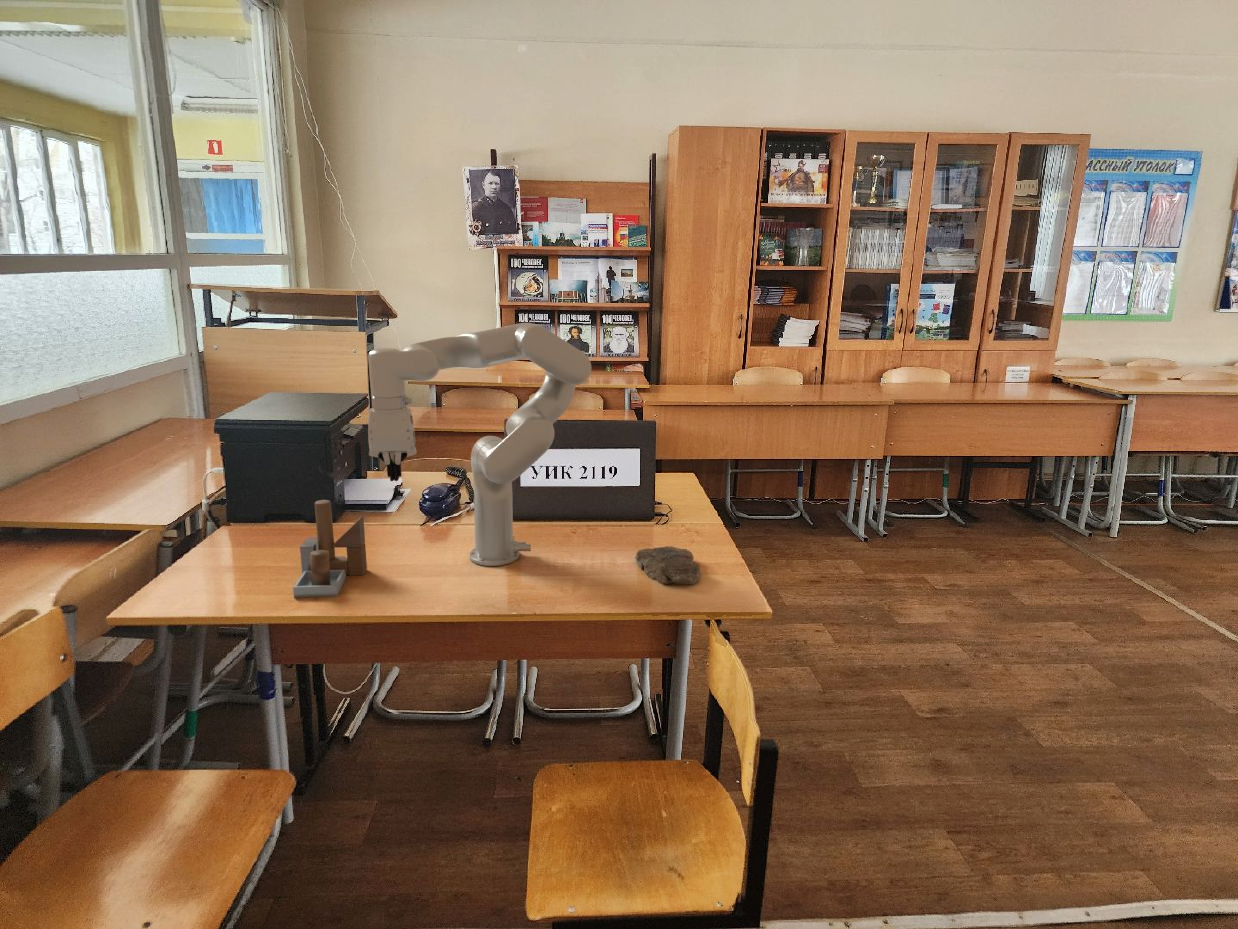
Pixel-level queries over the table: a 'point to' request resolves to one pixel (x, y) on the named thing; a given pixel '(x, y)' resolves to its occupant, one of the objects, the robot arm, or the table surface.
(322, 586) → the tray
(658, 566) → the grey rock
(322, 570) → the dowel
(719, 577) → the table surface
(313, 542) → the rectangular block
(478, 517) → the robot arm
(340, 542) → the wooden blocks
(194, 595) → the table surface
